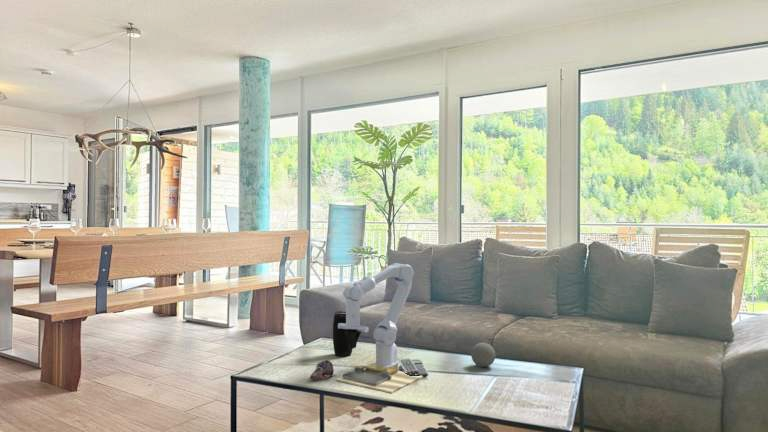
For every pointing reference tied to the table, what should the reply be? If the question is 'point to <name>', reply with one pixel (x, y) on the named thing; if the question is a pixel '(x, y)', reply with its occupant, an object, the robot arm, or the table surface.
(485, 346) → the decorative ball
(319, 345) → the table surface
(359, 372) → the fixed leaf
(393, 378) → the board
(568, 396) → the table surface
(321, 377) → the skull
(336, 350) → the portable speaker
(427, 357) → the table surface
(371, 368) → the loose leaf
